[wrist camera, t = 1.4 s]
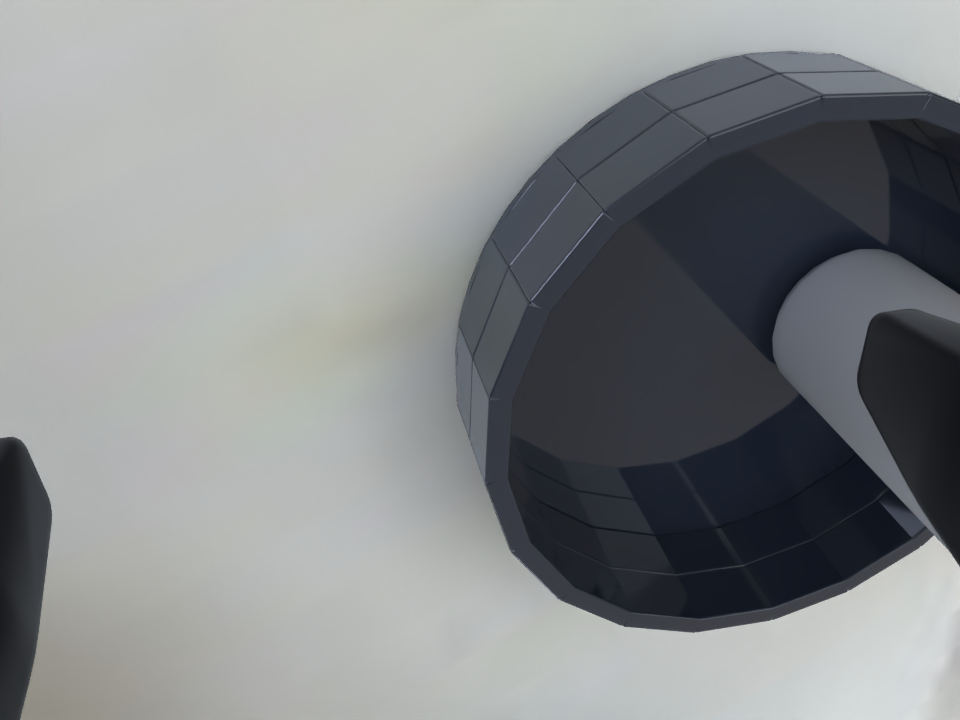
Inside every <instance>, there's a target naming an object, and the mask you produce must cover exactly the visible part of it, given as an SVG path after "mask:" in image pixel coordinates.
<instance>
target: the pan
mask: <svg viewBox="0 0 960 720" xmlns="http://www.w3.org/2000/svg"><path fill="white" fill-rule="evenodd" d="M857 249H881V250H884V251H888V252H891V253H895V254H898V255H900V256H901V257H903V258H904V259H906V260H908V261H909V262H911V263H912V264H914V265H915V266H917V267H918V268H920V269H921V270H923V271H924V272H926V273H928V274H929V275H931V276H932V277H934V278H935V279H937V280H938V281H940V282H941V283H943V284H944V285H946V286H947V287H949V288H950V289H952V290H953V291H955V292H956V293H958V294H960V102H957V101H955V100H952V99H950V98H947V97H945V96H942V95H940V94H937V93H935V92H932V91H930V90H927V89H925V88H922V87H920V86H917V85H915V84H913V83H910V82H908V81H905V80H902V79H900V78H897V77H895V76H892V75H890V74H887V73H885V72H882V71H880V70H877V69H875V68H872V67H870V66H867V65H865V64H862V63H860V62H857V61H855V60H852V59H850V58H847V57H845V56H842V55H840V54H834V53H830V54H817V53H806V52H795V51H783V52H766V53H751V54H746V55H741V56H736V57H731V58H726V59H721V60H716V61H711V62H708V63H705V64H702V65H699V66H696V67H693V68H691V69H688V70H685V71H682V72H679V73H676V74H673V75H670V76H668V77H666V78H664V79H662V80H660V81H658V82H656V83H654V84H652V85H650V86H648V87H646V88H644V89H642V90H640V91H638V92H636V93H634V94H631V95H630V96H628V97H627V98H625V99H624V100H622V101H620V102H619V103H617V104H616V105H614V106H613V107H611V108H610V109H608V110H607V111H605V112H604V113H602V114H600V115H599V116H597V117H596V118H594V119H593V120H592V121H590V122H589V123H588V124H587V125H586V126H584V127H583V128H582V129H581V130H580V131H578V132H577V133H576V134H575V135H574V136H572V137H571V138H570V139H569V140H568V141H566V142H565V143H564V144H563V145H562V146H560V147H559V148H558V149H557V150H556V151H555V152H554V153H553V155H552V156H551V157H550V158H549V159H548V160H547V161H546V162H545V163H544V164H543V165H542V166H541V167H540V168H539V169H538V170H537V171H536V172H535V173H534V174H533V175H532V177H531V178H530V179H529V180H528V181H527V183H526V184H525V185H524V187H523V188H522V189H521V191H520V192H519V193H518V195H517V196H516V197H515V199H514V200H513V201H512V203H511V204H510V205H509V207H508V208H507V209H506V211H505V212H504V214H503V215H502V217H501V219H500V221H499V222H498V224H497V226H496V227H495V229H494V231H493V233H492V234H491V236H490V238H489V240H488V241H487V243H486V245H485V246H484V249H483V251H482V253H481V256H480V258H479V260H478V263H477V265H476V268H475V270H474V272H473V275H472V277H471V280H470V282H469V285H468V289H467V292H466V296H465V300H464V304H463V307H462V311H461V315H460V319H459V326H458V335H457V343H456V351H455V356H456V385H457V403H458V404H457V405H458V408H459V411H460V414H461V417H462V420H463V423H464V426H465V429H466V431H467V434H468V437H469V440H470V443H471V446H472V449H473V452H474V455H475V457H476V460H477V463H478V466H479V469H480V472H481V475H482V478H483V481H484V483H485V486H486V489H487V491H488V494H489V497H490V499H491V502H492V505H493V507H494V510H495V513H496V515H497V518H498V521H499V523H500V526H501V528H502V531H503V534H504V536H505V539H506V542H507V544H508V547H509V549H510V550H511V553H512V554H513V555H514V556H515V557H516V558H517V559H518V560H519V561H520V562H521V563H522V564H523V565H524V566H525V567H526V568H527V569H528V570H529V571H530V572H531V573H532V574H533V575H534V576H535V577H536V578H537V579H538V580H539V581H540V582H542V583H543V584H544V585H545V586H546V587H547V588H548V589H549V590H550V591H551V592H552V593H553V594H554V595H555V596H556V597H557V598H558V599H560V600H561V601H564V602H566V603H568V604H571V605H573V606H576V607H578V608H580V609H583V610H585V611H588V612H590V613H592V614H595V615H597V616H600V617H602V618H604V619H607V620H609V621H612V622H614V623H616V624H619V625H623V626H624V627H635V628H646V629H658V630H669V631H681V632H692V633H694V632H702V631H708V630H714V629H721V628H727V627H733V626H740V625H746V624H752V623H758V622H765V621H770V620H771V619H772V620H774V619H777V618H780V617H782V616H785V615H787V614H790V613H793V612H795V611H798V610H801V609H803V608H806V607H809V606H811V605H814V604H816V603H819V602H822V601H824V600H827V599H830V598H832V597H835V596H838V595H840V594H843V593H845V592H847V591H848V590H851V589H853V588H854V587H856V586H858V585H859V584H861V583H863V582H864V581H866V580H868V579H869V578H871V577H872V576H874V575H876V574H877V573H879V572H881V571H882V570H884V569H886V568H887V567H889V566H891V565H892V564H894V563H895V562H897V561H899V560H900V559H902V558H904V557H905V556H907V555H909V554H910V553H912V552H913V551H915V550H917V549H918V548H919V547H920V546H922V545H924V544H925V543H926V542H927V541H928V540H929V539H930V538H931V537H933V536H934V534H933V533H932V532H931V531H930V530H929V529H928V528H927V527H926V526H925V525H924V524H923V523H922V522H921V521H920V520H919V519H918V517H917V516H916V515H915V514H914V513H913V512H912V511H911V510H910V509H909V508H908V507H907V506H906V505H905V504H904V503H903V502H902V501H901V500H900V499H899V497H898V496H897V495H896V494H895V493H894V492H893V491H892V490H891V489H890V488H889V487H888V486H887V485H886V484H885V483H884V482H883V481H882V480H881V478H880V477H879V476H878V475H877V474H876V473H875V472H874V471H873V470H872V469H871V468H870V467H869V466H868V465H867V464H866V463H865V462H864V461H863V459H862V458H861V457H860V456H859V455H858V454H857V453H856V452H855V451H854V450H853V449H852V448H851V447H850V446H849V445H848V444H847V443H846V442H845V440H844V439H843V438H842V437H841V436H840V435H839V434H838V433H837V432H836V431H835V430H834V429H833V428H832V427H831V426H830V425H829V424H828V423H827V421H826V420H825V419H824V418H823V417H822V416H821V415H820V414H819V413H818V412H817V411H816V410H815V409H814V408H813V407H812V406H811V405H810V404H809V402H808V401H807V400H806V399H805V398H804V397H803V396H802V395H801V394H800V393H799V392H798V391H797V390H796V389H795V388H794V387H793V386H792V385H791V383H790V382H789V381H788V380H787V379H786V378H785V377H784V376H783V375H782V374H781V373H780V372H779V369H778V367H777V364H776V362H775V359H774V357H773V342H772V337H773V332H774V328H775V324H776V320H777V316H778V313H779V311H780V309H781V306H782V304H783V302H784V300H785V298H786V296H787V295H788V294H789V292H790V291H791V290H792V289H793V287H794V286H795V285H796V284H797V282H798V281H799V280H800V279H801V278H803V277H804V276H805V275H806V274H807V273H808V272H809V271H811V270H812V269H813V268H814V267H816V266H818V265H819V264H821V263H823V262H825V261H826V260H828V259H830V258H832V257H834V256H838V255H841V254H844V253H847V252H851V251H854V250H857Z"/></svg>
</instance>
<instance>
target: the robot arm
mask: <svg viewBox="0 0 960 720" xmlns="http://www.w3.org/2000/svg"><path fill="white" fill-rule="evenodd" d="M857 386H858V390H859V394H860V396H861V399H862V400H863V402H864V404H865V406H866V408H867V410H868V412H869V414H870V416H871V417H872V419H873V421H874V423H875V425H876V427H877V429H878V431H879V432H880V434H881V436H882V438H883V440H884V442H885V444H886V446H887V448H888V449H889V451H890V453H891V455H892V457H893V459H894V461H895V463H896V465H897V466H898V468H899V470H900V472H901V474H902V476H903V478H904V480H905V482H906V483H907V485H908V487H909V489H910V491H911V492H912V494H913V496H914V498H915V499H916V501H917V503H918V505H919V506H920V508H921V509H922V511H923V512H924V514H925V516H926V517H927V519H928V520H929V522H930V523H931V525H932V526H933V528H934V529H935V531H936V532H937V534H938V535H939V537H940V538H941V540H942V541H943V543H944V544H945V545H946V547H947V548H948V550H949V551H950V553H951V554H952V556H953V557H954V559H955V560H956V562H957V563H958V565H959V566H960V324H959V323H956V322H953V321H950V320H947V319H944V318H941V317H938V316H935V315H932V314H929V313H926V312H923V311H920V310H917V309H901V310H894V311H887V312H881V313H878V314H877V315H875V316H874V317H873V318H872V319H871V321H870V323H869V326H868V329H867V333H866V338H865V342H864V346H863V351H862V355H861V359H860V364H859V368H858V372H857ZM51 524H52V510H51V504H50V500H49V497H48V494H47V492H46V490H45V488H44V486H43V483H42V481H41V479H40V477H39V474H38V472H37V470H36V468H35V465H34V463H33V461H32V459H31V456H30V454H29V452H28V450H27V448H26V446H25V445H24V444H23V442H22V441H21V440H19V439H17V438H15V437H6V438H0V720H20V717H21V713H22V709H23V705H24V701H25V697H26V693H27V689H28V685H29V681H30V677H31V672H32V667H33V663H34V658H35V653H36V646H37V639H38V633H39V624H40V616H41V608H42V599H43V591H44V582H45V574H46V566H47V557H48V549H49V540H50V532H51Z"/></svg>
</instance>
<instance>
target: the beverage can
mask: <svg viewBox="0 0 960 720" xmlns="http://www.w3.org/2000/svg"><path fill="white" fill-rule="evenodd" d="M901 309H917V310H920V311H923V312H926V313H929V314H932V315H935V316H938V317H941V318H944V319H947V320H950V321H953V322H956V323H959V324H960V294H958V293H956V292H955V291H953V290H952V289H950V288H949V287H947V286H946V285H944V284H943V283H941V282H940V281H938V280H937V279H935V278H934V277H932V276H931V275H929V274H928V273H926V272H924V271H923V270H921V269H920V268H918V267H917V266H915V265H914V264H912V263H911V262H909V261H908V260H906V259H904V258H903V257H901V256H900V255H898V254H895V253H891V252H888V251H884V250H881V249H857V250H854V251H851V252H847V253H844V254H841V255H838V256H834V257H832V258H830V259H828V260H826V261H825V262H823V263H821V264H819V265H818V266H816V267H814V268H813V269H812V270H811V271H809V272H808V273H807V274H806V275H805V276H804V277H803V278H801V279H800V280H799V281H798V282H797V284H796V285H795V286H794V287H793V289H792V290H791V291H790V292H789V294H788V295H787V296H786V298H785V300H784V302H783V304H782V306H781V309H780V311H779V313H778V316H777V320H776V324H775V328H774V332H773V337H772V342H773V357H774V359H775V362H776V364H777V367H778V369H779V372H780V373H781V374H782V375H783V376H784V377H785V378H786V379H787V380H788V381H789V382H790V383H791V385H792V386H793V387H794V388H795V389H796V390H797V391H798V392H799V393H800V394H801V395H802V396H803V397H804V398H805V399H806V400H807V401H808V402H809V404H810V405H811V406H812V407H813V408H814V409H815V410H816V411H817V412H818V413H819V414H820V415H821V416H822V417H823V418H824V419H825V420H826V421H827V423H828V424H829V425H830V426H831V427H832V428H833V429H834V430H835V431H836V432H837V433H838V434H839V435H840V436H841V437H842V438H843V439H844V440H845V442H846V443H847V444H848V445H849V446H850V447H851V448H852V449H853V450H854V451H855V452H856V453H857V454H858V455H859V456H860V457H861V458H862V459H863V461H864V462H865V463H866V464H867V465H868V466H869V467H870V468H871V469H872V470H873V471H874V472H875V473H876V474H877V475H878V476H879V477H880V478H881V480H882V481H883V482H884V483H885V484H886V485H887V486H888V487H889V488H890V489H891V490H892V491H893V492H894V493H895V494H896V495H897V496H898V497H899V499H900V500H901V501H902V502H903V503H904V504H905V505H906V506H907V507H908V508H909V509H910V510H911V511H912V512H913V513H914V514H915V515H916V516H917V517H918V519H919V520H920V521H921V522H922V523H923V524H924V525H925V526H926V527H927V528H928V529H929V530H930V531H931V532H932V533H933V534H934V535H935V536H936V538H937V539H938V540H939V541H940V542H941V543H942V544H943V545H944V546H945V547H946V545H945V544H944V543H943V541H942V540H941V538H940V537H939V535H938V534H937V532H936V531H935V529H934V528H933V526H932V525H931V523H930V522H929V520H928V519H927V517H926V516H925V514H924V512H923V511H922V509H921V508H920V506H919V505H918V503H917V501H916V499H915V498H914V496H913V494H912V492H911V491H910V489H909V487H908V485H907V483H906V482H905V480H904V478H903V476H902V474H901V472H900V470H899V468H898V466H897V465H896V463H895V461H894V459H893V457H892V455H891V453H890V451H889V449H888V448H887V446H886V444H885V442H884V440H883V438H882V436H881V434H880V432H879V431H878V429H877V427H876V425H875V423H874V421H873V419H872V417H871V416H870V414H869V412H868V410H867V408H866V406H865V404H864V402H863V400H862V399H861V396H860V394H859V390H858V386H857V372H858V368H859V364H860V359H861V355H862V351H863V346H864V342H865V338H866V333H867V329H868V326H869V323H870V321H871V319H872V318H873V317H874V316H875V315H877V314H878V313H881V312H887V311H894V310H901ZM946 548H947V547H946ZM947 549H948V548H947Z"/></svg>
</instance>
